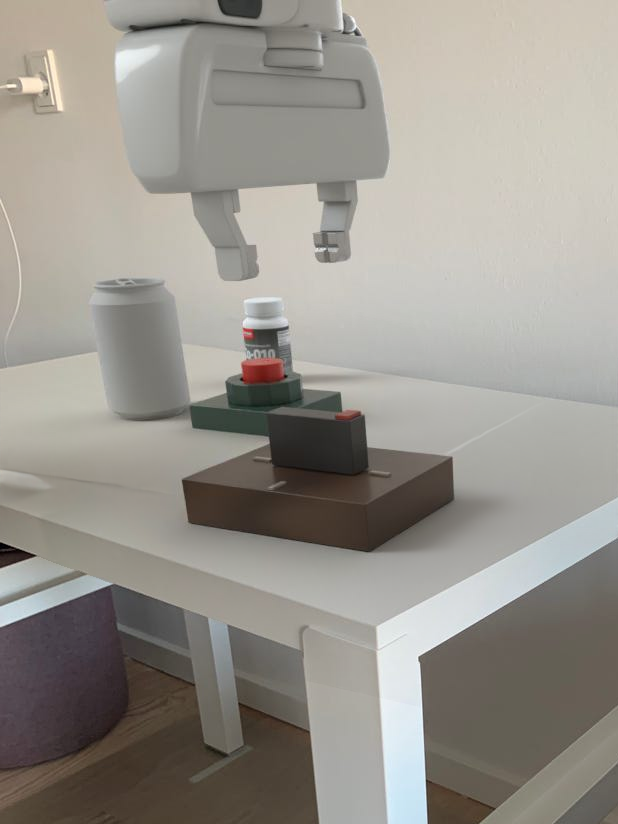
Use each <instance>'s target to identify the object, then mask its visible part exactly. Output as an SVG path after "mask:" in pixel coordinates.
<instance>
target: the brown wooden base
mask: <svg viewBox="0 0 618 824" xmlns="http://www.w3.org/2000/svg"><path fill="white" fill-rule="evenodd" d="M367 450H368V463H369V468H367V469H365V470H363V471H361V472H359V473H357V474H355V475H350V474H342V473H334V472H326V471H318V470H310V469H302V468H294V467H286V466H278V465H272V460H271V451H270V443H267V444H265V445H262V446H261V447H258V448H255V449H253V450H250V451H248V452H245V453H242V454H240V455H238V456H235V457H233V458H231V459H228V460H226V461H223V462H220V463H218V464H215V465H213V466H210V467H208V468H205V469H203V470H200V471H197V472H195V473H193V474H191V475H188V476H185V477H182V478H181V486H182V492H183V497H184V498H183V499H184V505H185V508H186V516H187V523H189V524H195V525H201V526H207V527H214V528H219V529H226V530H232V531H239V532H244V533H249V534H257V535H264V536H270V537H275V538H282V539H288V540H294V541H300V542H305V543H313V544H319V545H325V546H331V547H338V548H343V549H350V550H357V551H363V552H369V553H370V552H371V551H373V550H375V549H376V548H378V547H379V546H381V545H383V544H384V543H386V542H387V541H389V540H390V539H392V538H394V537H395V536H397V535H399V534H400V533H401V532H403V531H405V530H406V529H408V528H410V527H412V526H413V525H415V524H416V523H419V521H421V520H423V519H424V518H426V517H428V516H429V515H431V514H433V513H434V512H436V511H437V510H438V509H441V508H442V507H443V506H445V505H447V504H448V503H450V502H451V501H453V500H454V499H455V487H454V460H453V456H451V455H442V454H434V453H433V454H432V453H425V452H414V451H405V450H397V449H396V450H395V449H387V448H378V447H371V446H370V447H369V446H367Z"/></svg>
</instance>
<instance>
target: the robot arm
mask: <svg viewBox="0 0 618 824" xmlns="http://www.w3.org/2000/svg"><path fill="white" fill-rule="evenodd" d="M102 1H103V5H104V6H103V7H104V11H105V15H106V18H107V20H108V23H109V25H110V26H111V27H112V28H114V29H115V30H117V31H120V32H123V33H124V34H123V35H121V37H120V38H119V39H118V41H117V44H116V46H115V49H114V56H113V72H114V73H113V74H114V83H115V91H116V99H117V106H118V107H117V108H118V114H119V120H120V126H121V133H122V138H123V143H124V147H125V153H126V157H127V158H126V159H127V162H128V166H129V167H130V170H131V172H132V173H133V175H134V177H135V178H136V179H137V181H138V182H139V183H140V185H141V186H142V188H143V189H144V190H145V191H146V192H147V193H149V194H150V195H151V194H153V195H154V194H156V195H171V194H172V195H173V194H174V195H175V194H190V198H191V203H192V204H191V205H192V209H193V216H194V217H195V219H196V221H197V223H198V225H199V226H200V227H201V229H202V231H203V233H204V235H205V236H206V238H207V239H208V241H209V243H210V244H211V246H212V247H213V248H214V254H215V260H216V268H217V273H218V276H219V278H220V279H221V280H222V281H224V282H242V281H246V280H251V279H255V278H258V276H259V274H260V266H259V264H258V262H257V261H258V257H259V255H258V250H257V249H258V248H257V244H248V243H247V240H246V239H245V237H244V234H243V231H242V229H241V227H240V225H239V223H238V220H237V218H236V215H235V214H238V213H241V203H240V202H241V201H240V193H239V190H245V189H246V190H247V189H259V188H260V189H261V188H274V187H286V186H298V185H311V184H313V185H314V184H316V193H317V200H318V202H322V203H323V206H322V212H321V221H320V227H319V228H320V229H319V231H317V232H312V237H313V238H312V239H313V245H314V247H315V249H314V257H315V259H316V260H317V262H318V263H321V264H322V263H323V264H325V263H326V264H327V263H329V264H331V263H333V264H334V263H343V262H346V261H348V260H350V258H351V255H352V251H351V239H350V237H351V236H350V231H351V229H352V224H353V221H354V218H355V217H354V216H355V214H356V210H357V206H358V202H359V198H358V197H359V195H358V188H357V187H358V184H357V181H366V180H379V179H384V178H385V177H386V176H387V174H388V170H389V167H390V163H391V159H392V150H391V141H390V132H389V122H388V117H387V116H388V115H387V108H386V101H385V95H384V90H383V89H384V88H383V84H382V78H381V74H380V69H379V66H378V62H377V60H376V58H375V56H374V54H373V53H372V51H370V46H369V42H368V40H367V38H366V37H365V36H364V35H363V33H362V31H361V30H360V28H359V27H358V25H357V24H356V20H355V18H354V17H353V16H351V15H350V14H348V13H345V12H343V7H342V0H102Z"/></svg>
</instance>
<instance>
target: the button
mask: <svg viewBox="0 0 618 824" xmlns="http://www.w3.org/2000/svg"><path fill="white" fill-rule="evenodd" d="M240 366H241V374H242V375H243V382H251V383H258V382H272V381H279V380H282V379H285V378H284V369H283V361H282V359H279V358H255V359H249V360H246V359H245V360H243V361H241V362H240Z"/></svg>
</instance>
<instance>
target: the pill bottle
mask: <svg viewBox="0 0 618 824" xmlns="http://www.w3.org/2000/svg"><path fill="white" fill-rule="evenodd" d="M243 308H244V315H245V316H247V317H246V318H245V319H243V321H242V333H243V341H244V342H243V343H244V351H245V360H249V359H255V358H279V359H282V361H283V369H284V371H293V372H294V366H293V356H292V345H291V336H290V335H291V334H290V326H289V321H288V319H287V318H286V316H283V314H284V313H285V305H284V298H282V297H277V296H275V297H274V296H266V297H265V296H263V297H253V298H248V299H244V300H243Z"/></svg>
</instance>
